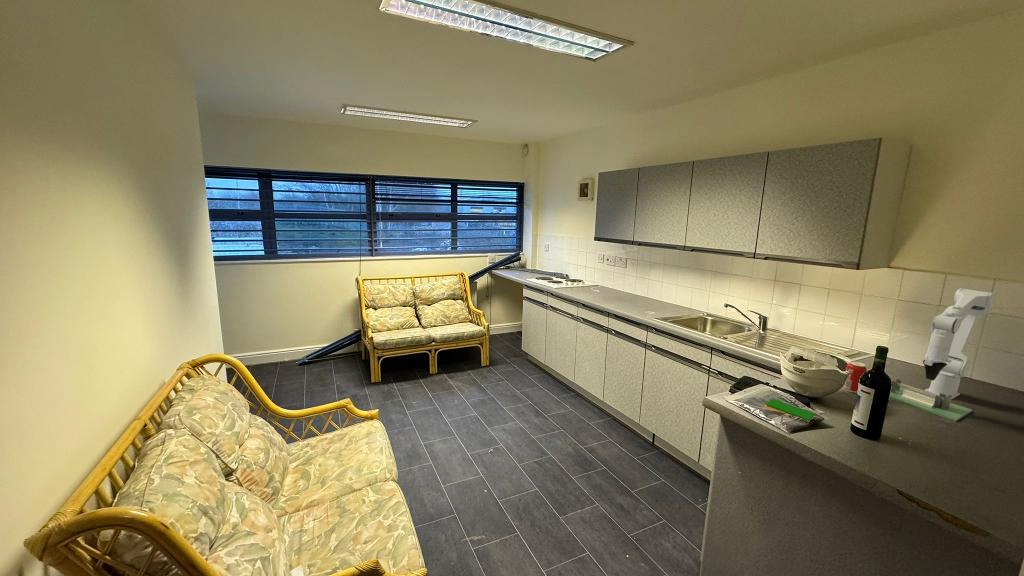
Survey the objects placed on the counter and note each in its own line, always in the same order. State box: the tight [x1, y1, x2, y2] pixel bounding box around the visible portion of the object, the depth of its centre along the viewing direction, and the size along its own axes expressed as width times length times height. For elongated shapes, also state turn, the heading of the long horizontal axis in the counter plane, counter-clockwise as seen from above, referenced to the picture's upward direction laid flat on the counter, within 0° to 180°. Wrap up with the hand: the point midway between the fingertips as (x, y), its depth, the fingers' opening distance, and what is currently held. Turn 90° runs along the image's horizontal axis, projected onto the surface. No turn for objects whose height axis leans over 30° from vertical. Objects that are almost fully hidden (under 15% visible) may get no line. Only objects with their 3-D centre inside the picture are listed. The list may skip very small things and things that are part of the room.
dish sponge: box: [764, 398, 816, 421], centre depth 146 cm, size 7×14×2 cm, turn 39°
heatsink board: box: [889, 378, 973, 422], centre depth 157 cm, size 16×24×6 cm, turn 28°
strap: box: [897, 382, 944, 400], centre depth 157 cm, size 3×14×1 cm, turn 28°
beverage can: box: [842, 360, 868, 394], centre depth 164 cm, size 6×6×12 cm
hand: (930, 379), depth 154 cm, fingers closed
